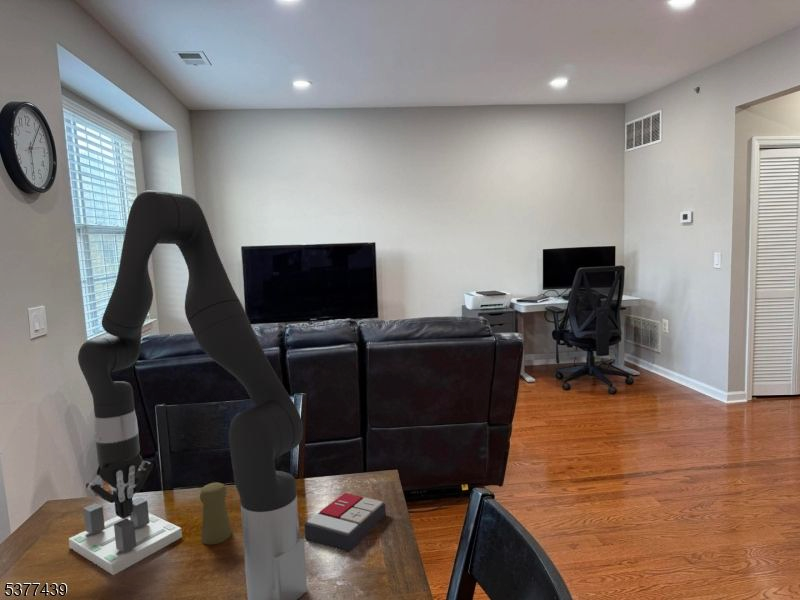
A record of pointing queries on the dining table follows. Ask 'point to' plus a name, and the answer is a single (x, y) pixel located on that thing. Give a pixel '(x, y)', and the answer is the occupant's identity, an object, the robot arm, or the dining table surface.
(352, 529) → the calculator
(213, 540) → the cork
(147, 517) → the middle breaker handle
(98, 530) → the far breaker handle
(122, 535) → the handle
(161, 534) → the breaker panel
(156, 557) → the dining table surface
